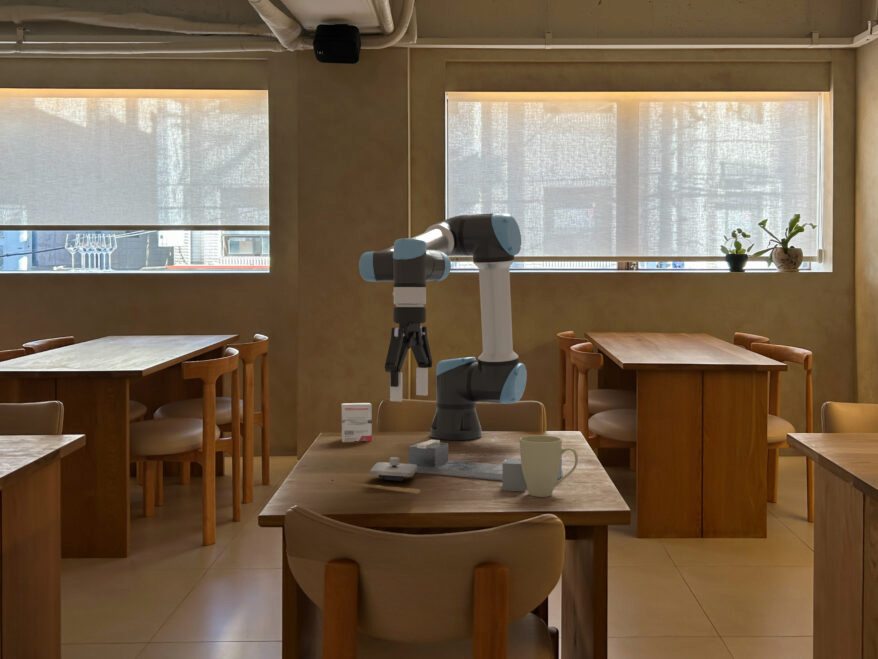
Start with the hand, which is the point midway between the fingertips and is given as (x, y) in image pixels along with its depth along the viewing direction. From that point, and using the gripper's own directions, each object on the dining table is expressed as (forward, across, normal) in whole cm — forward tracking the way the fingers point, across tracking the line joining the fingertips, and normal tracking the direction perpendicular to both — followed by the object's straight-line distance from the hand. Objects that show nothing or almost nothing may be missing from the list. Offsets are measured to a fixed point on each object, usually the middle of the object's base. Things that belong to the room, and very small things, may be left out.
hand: (409, 398), depth 194 cm
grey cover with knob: (+19, 0, +1) cm, 20 cm away
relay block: (+19, -2, +25) cm, 31 cm away
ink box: (+19, -37, -35) cm, 54 cm away
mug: (+19, +1, +33) cm, 38 cm away
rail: (+19, -13, +13) cm, 27 cm away
